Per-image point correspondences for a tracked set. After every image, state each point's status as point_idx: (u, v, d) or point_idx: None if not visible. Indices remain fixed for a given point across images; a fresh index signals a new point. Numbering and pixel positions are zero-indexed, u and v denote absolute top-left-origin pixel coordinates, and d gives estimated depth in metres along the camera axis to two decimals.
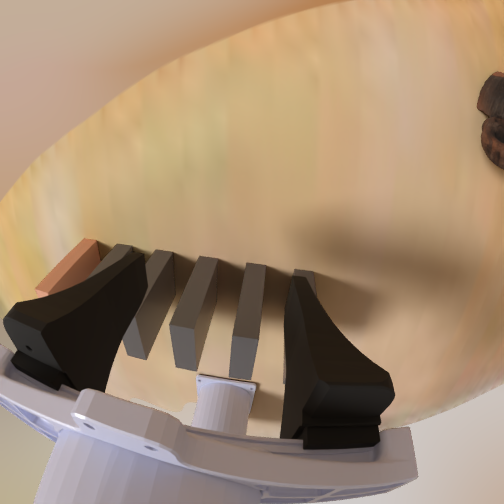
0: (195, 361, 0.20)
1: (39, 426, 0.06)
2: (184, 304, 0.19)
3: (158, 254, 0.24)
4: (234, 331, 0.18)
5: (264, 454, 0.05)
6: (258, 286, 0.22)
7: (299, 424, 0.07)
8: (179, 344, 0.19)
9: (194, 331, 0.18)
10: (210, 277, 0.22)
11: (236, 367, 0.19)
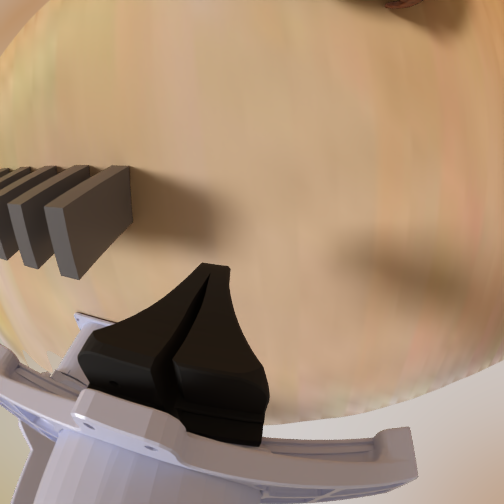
0: (2, 245, 0.15)
1: (39, 426, 0.06)
2: (1, 190, 0.15)
3: (19, 169, 0.20)
4: (11, 201, 0.13)
5: (264, 454, 0.05)
6: (63, 176, 0.18)
7: None
8: None
9: None
10: (35, 175, 0.18)
11: (22, 249, 0.15)
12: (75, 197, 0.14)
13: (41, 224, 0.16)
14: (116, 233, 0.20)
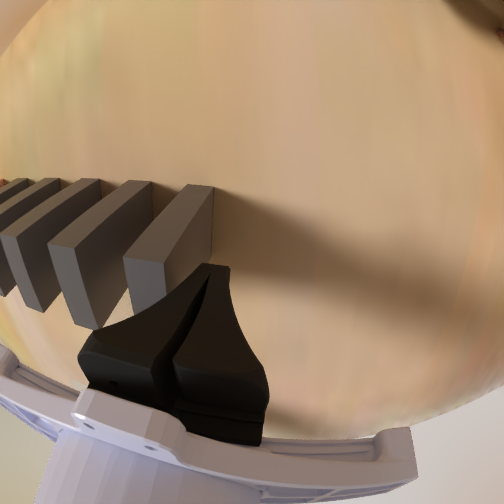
0: (35, 295, 0.12)
1: (39, 426, 0.06)
2: (27, 216, 0.12)
3: (43, 181, 0.17)
4: (53, 239, 0.10)
5: (264, 454, 0.05)
6: (122, 197, 0.15)
7: None
8: (14, 266, 0.11)
9: (18, 242, 0.10)
10: (75, 193, 0.15)
11: (73, 305, 0.12)
12: (171, 240, 0.11)
13: (101, 270, 0.12)
14: None
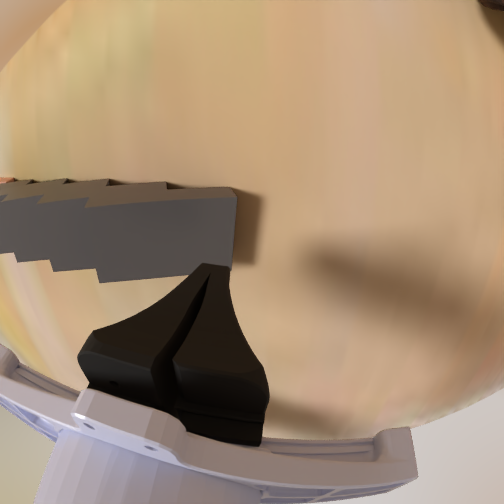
0: (13, 247, 0.15)
1: (39, 426, 0.06)
2: (29, 191, 0.15)
3: (57, 181, 0.17)
4: (49, 193, 0.14)
5: (264, 454, 0.05)
6: (117, 191, 0.15)
7: None
8: None
9: (2, 206, 0.13)
10: (66, 190, 0.15)
11: None
12: (112, 202, 0.14)
13: (63, 233, 0.15)
14: (185, 269, 0.17)
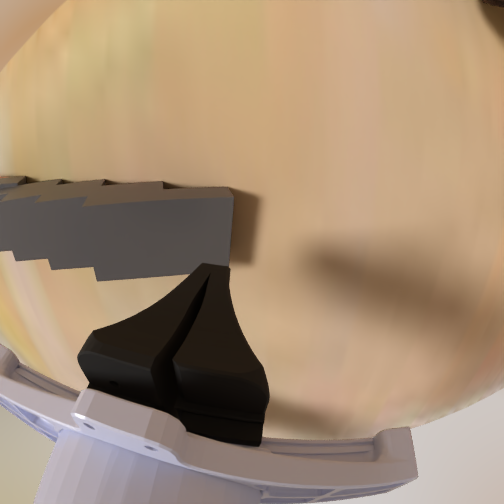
0: (11, 246, 0.15)
1: (39, 426, 0.06)
2: (27, 191, 0.15)
3: (51, 182, 0.17)
4: (47, 192, 0.15)
5: (264, 454, 0.05)
6: (113, 190, 0.15)
7: None
8: None
9: (1, 206, 0.14)
10: None
11: None
12: (109, 202, 0.14)
13: (61, 232, 0.15)
14: (182, 269, 0.17)
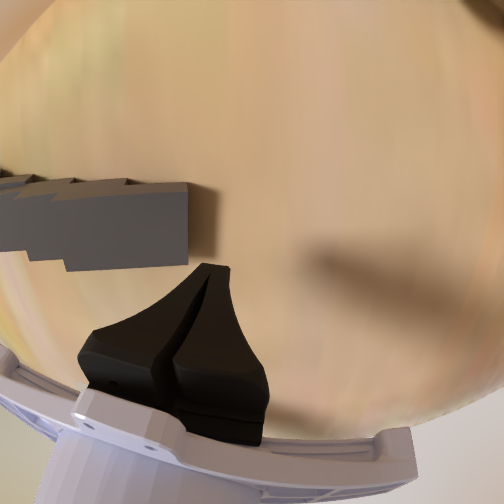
0: None
1: (39, 426, 0.06)
2: (7, 188, 0.15)
3: (24, 177, 0.17)
4: (26, 190, 0.15)
5: (264, 454, 0.05)
6: (80, 187, 0.15)
7: None
8: None
9: None
10: None
11: None
12: (74, 197, 0.14)
13: (36, 226, 0.15)
14: (143, 262, 0.17)
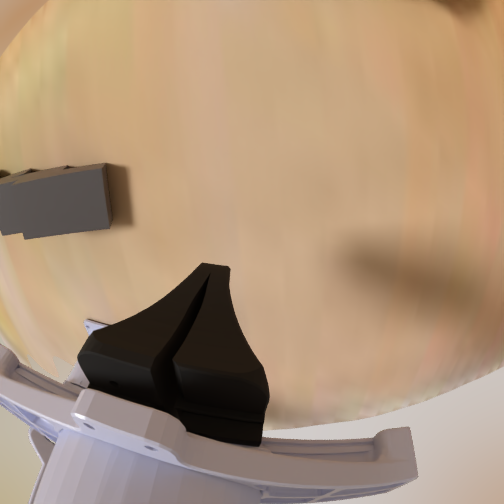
0: None
1: (39, 426, 0.06)
2: None
3: None
4: None
5: (264, 454, 0.05)
6: None
7: None
8: None
9: None
10: None
11: None
12: (26, 180, 0.16)
13: (5, 207, 0.18)
14: (76, 227, 0.20)
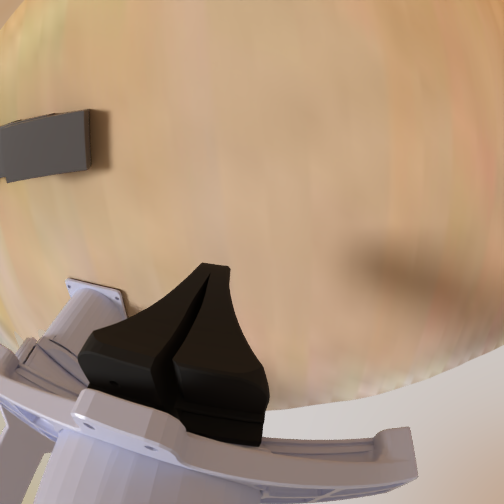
0: None
1: (39, 426, 0.06)
2: None
3: None
4: None
5: (264, 454, 0.05)
6: (22, 120, 0.16)
7: None
8: None
9: None
10: None
11: None
12: (15, 124, 0.15)
13: None
14: (55, 169, 0.18)
